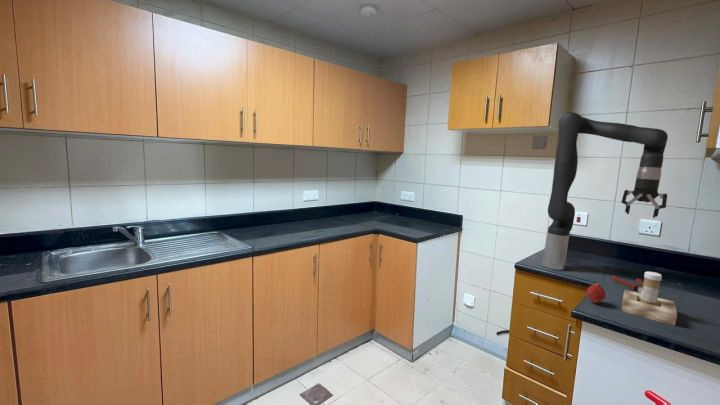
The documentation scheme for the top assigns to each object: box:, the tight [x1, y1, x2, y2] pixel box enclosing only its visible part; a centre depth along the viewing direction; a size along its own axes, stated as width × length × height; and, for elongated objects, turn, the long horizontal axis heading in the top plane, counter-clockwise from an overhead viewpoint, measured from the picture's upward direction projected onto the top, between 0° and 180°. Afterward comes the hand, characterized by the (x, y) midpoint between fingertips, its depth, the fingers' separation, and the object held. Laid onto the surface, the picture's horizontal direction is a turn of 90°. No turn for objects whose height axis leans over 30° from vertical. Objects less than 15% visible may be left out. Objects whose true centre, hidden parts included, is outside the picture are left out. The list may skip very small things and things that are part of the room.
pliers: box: [611, 275, 644, 293], centre depth 138 cm, size 12×20×3 cm, turn 165°
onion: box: [585, 282, 607, 304], centre depth 121 cm, size 6×6×8 cm
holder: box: [620, 289, 678, 327], centre depth 116 cm, size 14×14×4 cm
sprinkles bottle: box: [640, 271, 663, 305], centre depth 115 cm, size 5×5×13 cm
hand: (640, 215), depth 137 cm, fingers open, 8 cm apart
